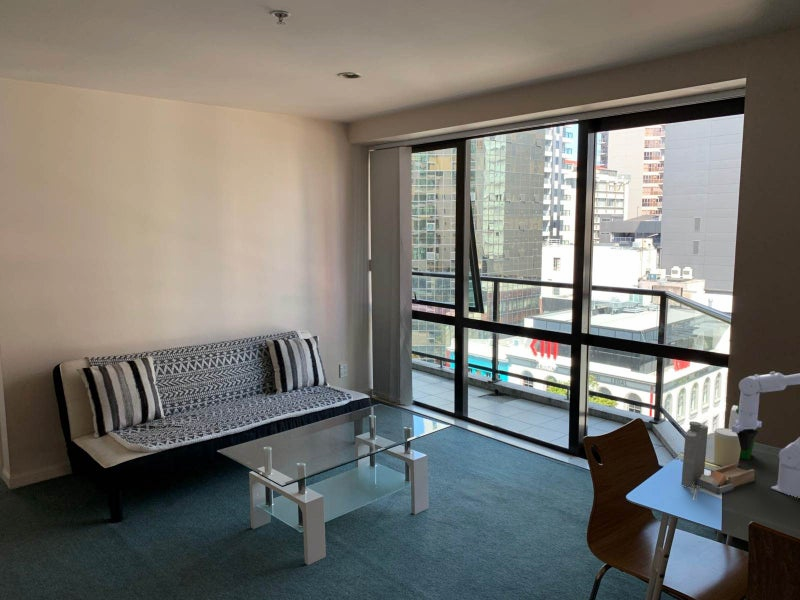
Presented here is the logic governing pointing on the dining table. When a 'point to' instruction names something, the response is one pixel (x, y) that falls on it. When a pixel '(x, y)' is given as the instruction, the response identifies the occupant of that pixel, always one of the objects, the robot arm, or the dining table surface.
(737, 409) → the milk carton
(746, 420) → the robot arm
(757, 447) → the dining table surface
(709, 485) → the tray
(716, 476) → the tile
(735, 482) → the board
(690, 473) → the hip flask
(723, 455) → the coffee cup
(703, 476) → the tile
